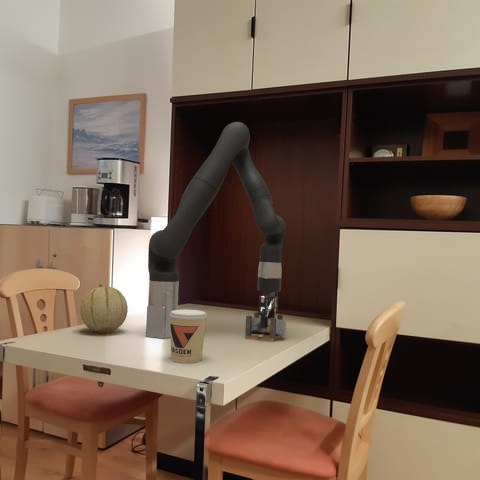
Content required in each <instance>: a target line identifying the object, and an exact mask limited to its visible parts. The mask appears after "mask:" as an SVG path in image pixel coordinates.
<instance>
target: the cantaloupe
mask: <svg viewBox="0 0 480 480" xmlns="http://www.w3.org/2000/svg"><path fill="white" fill-rule="evenodd" d="M128 307H129V306H128V302H127V300H126V298H125V296H124V295H123V293H122V292H121V291H120V290H119V289H118V288H115V287H112V286H105V285H104V284H102V283H100V284H99V285H98V286H97V287H93V288H92V289H90V290H89V291H88V292H87V293H86V294H85V295H84V297H83V298H82V301H81V303H80V311H79V313H80V318H81V320H82V323H83V324H84V325H85V326H86V327H87V329H89V330H91V331H93V332H97V333H99V334H106V333H109V332H113V331H115V330H117V329H119V328H120V327H121V326H122V325H123V324H124V323H125V321H126V319H127V317H128V315H127V314H128V312H129V311H128V310H129V309H128Z"/></svg>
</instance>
